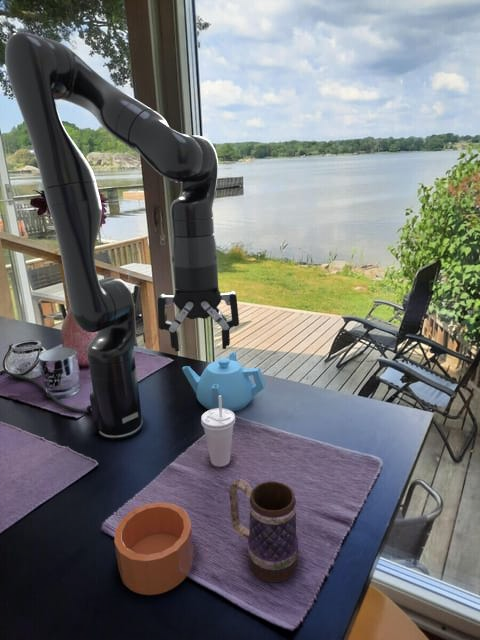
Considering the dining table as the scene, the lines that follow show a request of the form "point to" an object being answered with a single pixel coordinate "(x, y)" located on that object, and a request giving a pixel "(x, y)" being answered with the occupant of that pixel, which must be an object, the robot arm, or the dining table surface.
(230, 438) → the smoothie
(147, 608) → the dining table surface
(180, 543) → the bottle stand
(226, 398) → the teapot
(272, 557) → the mug
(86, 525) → the dining table surface
